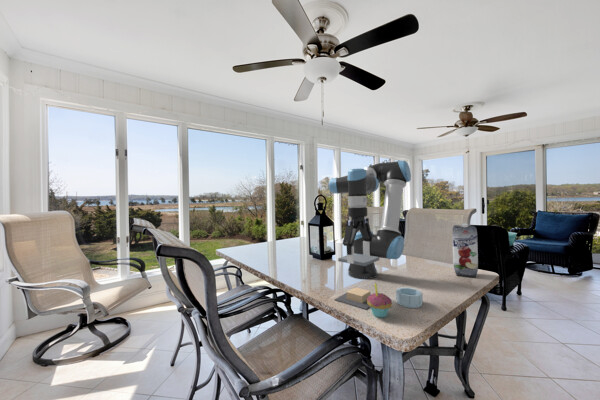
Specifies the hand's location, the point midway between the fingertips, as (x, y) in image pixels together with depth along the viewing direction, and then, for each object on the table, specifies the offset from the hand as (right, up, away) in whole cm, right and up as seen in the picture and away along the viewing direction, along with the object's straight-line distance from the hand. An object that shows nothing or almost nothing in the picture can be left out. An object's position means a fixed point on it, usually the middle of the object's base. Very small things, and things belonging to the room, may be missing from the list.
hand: (358, 259), depth 102 cm
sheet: (0, 0, 0) cm, 0 cm away
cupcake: (+4, -16, -13) cm, 22 cm away
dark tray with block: (0, -16, 0) cm, 16 cm away
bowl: (+19, -16, -5) cm, 25 cm away
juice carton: (+62, -15, +28) cm, 70 cm away
